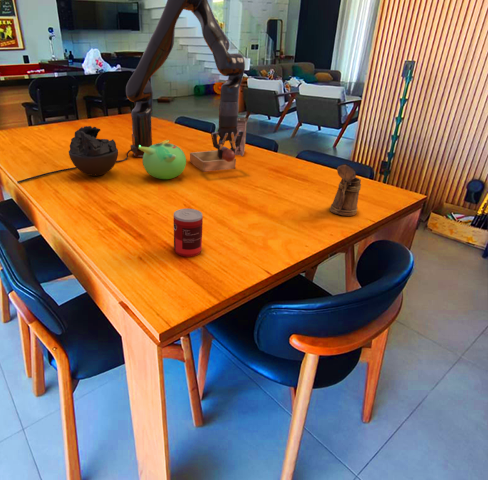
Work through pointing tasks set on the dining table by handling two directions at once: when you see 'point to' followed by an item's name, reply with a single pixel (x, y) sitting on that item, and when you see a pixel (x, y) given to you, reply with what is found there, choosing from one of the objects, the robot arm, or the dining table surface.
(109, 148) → the coal bowl
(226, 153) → the sweet potato
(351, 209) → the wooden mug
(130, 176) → the dining table surface
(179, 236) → the canned food
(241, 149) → the coffee box
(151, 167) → the toy bird
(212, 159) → the brown wooden tray
